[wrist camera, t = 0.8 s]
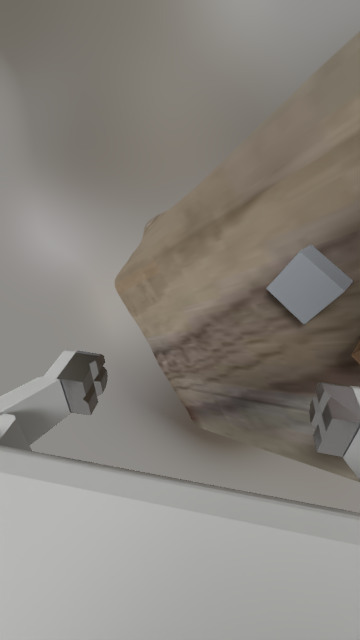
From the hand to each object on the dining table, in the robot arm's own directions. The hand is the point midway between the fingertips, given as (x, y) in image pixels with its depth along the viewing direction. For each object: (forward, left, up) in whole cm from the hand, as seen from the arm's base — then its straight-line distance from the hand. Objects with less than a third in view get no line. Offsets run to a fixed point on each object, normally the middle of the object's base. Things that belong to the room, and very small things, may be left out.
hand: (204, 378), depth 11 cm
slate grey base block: (+16, -1, -45) cm, 47 cm away
